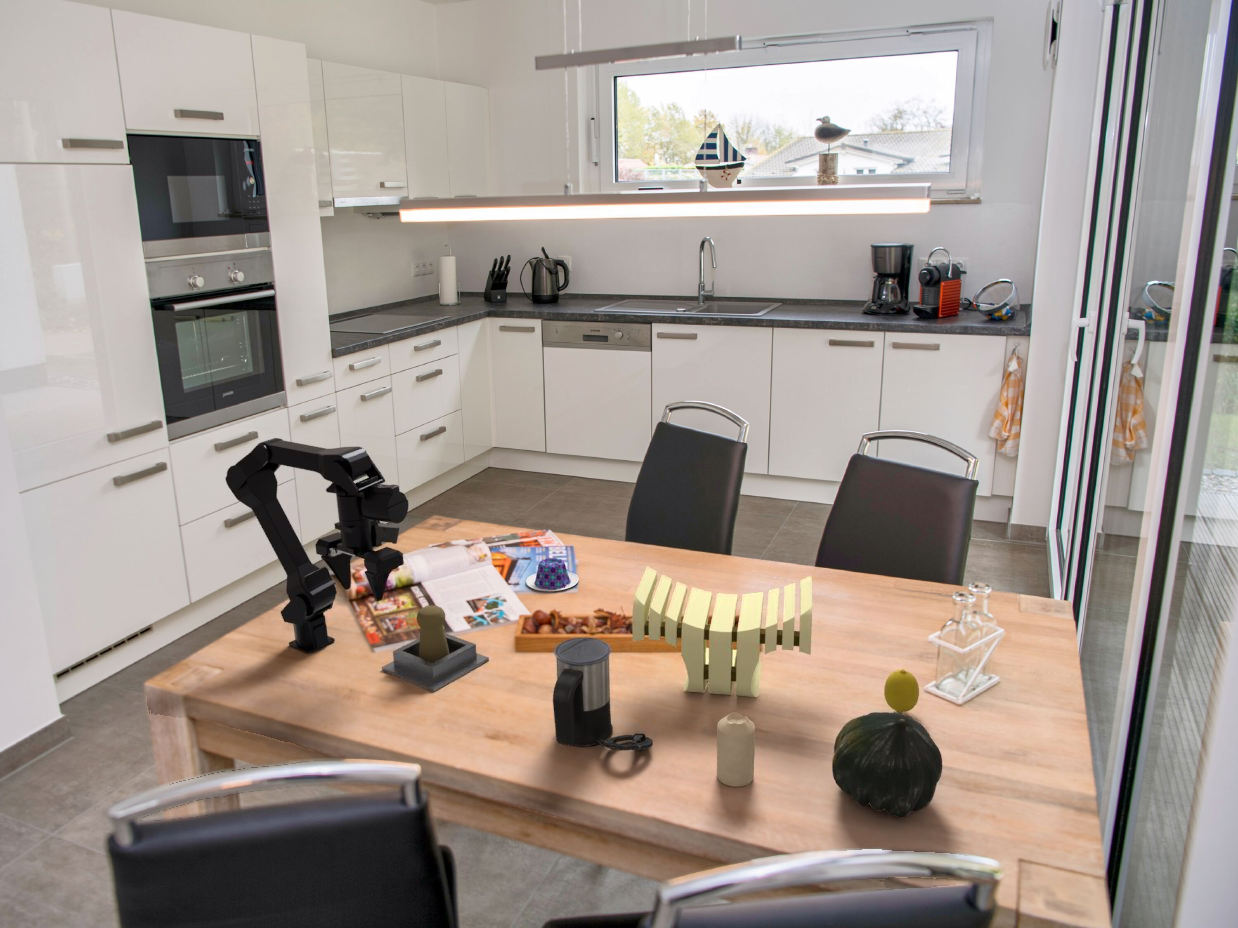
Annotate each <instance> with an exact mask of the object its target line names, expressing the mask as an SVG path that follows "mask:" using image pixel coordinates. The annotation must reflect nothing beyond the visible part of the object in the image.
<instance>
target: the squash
mask: <svg viewBox="0 0 1238 928" xmlns="http://www.w3.org/2000/svg"><path fill="white" fill-rule="evenodd" d="M833 745H834V747H833V757H832V762H831V764H832V765H831V772H832V777H833V780H834V781H835V784H836V785H837V787H838V788H839V789H840V790H841V791H842V793H844V794H845V795H847V796H850V797H852V800H853V801H854V802H855V803H856V804H858V805H859V806H863V807H864V806H868V805H870V806H871V809H873V810H874V811H877V812H879V811H884V810H885V811H886V813H888V814H890V815H891V816H894V817H896V818H900V819H901V818H904V817H906V816H909V814H910V813H911V812H918V811H921V810H922V809H924V808H925V807H927V806H928V805H929V804H930V803H931V802H932V801H933V798H934V795H935V793H936V790H937V789H936V788H937V786H938V785H937V784H938V783H939V781H940V779H941V777H942V773H943V758H942V753H941V750H940V749H939V748H940V747H938V745H937V744H936V743H935V741H934V740H933V738H932V737H931V734H930V733H929V731H928V730H927V729H926V728H925V726H924V725H923V724H922V723H921V722H920V721H918V720H916V719H915V718H912V717H911V716H908V715H906V714H903V713H898V712H887V711H885V712H884V711H881V712H876V711H874V712H869V713H868V714H864V715H862V716H858V717H855V718H852V719H851V720H848V722H847V723H845V724H844V725H843V726H842V728H841V730H840V731H839V732H838V734H837V736H836V738H835V741H834V744H833Z"/></svg>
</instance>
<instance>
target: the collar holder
mask: <svg viewBox="0 0 1238 928" xmlns="http://www.w3.org/2000/svg"><path fill="white" fill-rule="evenodd" d="M445 636H446V640H447V644H448V649H449V653H450V654H449V655H447V656H445V657H444V658H442V659H440V660H438V661H436V662H434V663H432V662H429V661H427V660H424V659H422V658H419V645H420V637H419V638H417V639H415V640H413V641H411V642H408V643H407V644H404V645H403V646H400V647H399V648H397V649H394V650H392V657H393V658H392V659H393V661H390V662H389V663H386V664H385V665H383V666H381V670H382V671H384V672H386V673H389V674H391V675H393V676H396V677H398V678H400V679H402V680H405V681H407V682H409V683H412V684H414V685H416V686H419V687H421V688H423V689H425V690H428V691H430V692H433V693H435V692H436V691H438V690H440V689H441V688H443V687H445V686H447V685H449V684H450V683H451V682H454V681H456V680H458V679H459V678H461V677H462V676H464V675H466V674H467V673H469V672H471V671H473V670H474V669H476V668H478V667H480V666H482V665H484V664H485V663H488V662H489V661H490V658H489V656H486V655H483V654H481V653H478V652H477V646H476V645H477V644H476V643H473V642H471V641H468V640H464V639H462V638H460V637H457V636H454V635H452V634H450V633H446V632H445Z"/></svg>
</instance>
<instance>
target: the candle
mask: <svg viewBox="0 0 1238 928" xmlns="http://www.w3.org/2000/svg"><path fill="white" fill-rule="evenodd" d="M716 725H717V726H716V729H717V730H716V735H717V736H716V739H717V740H716V777H717V779H718V781H720V782H721V783H722V784H723V785H726V786H729V787H733V788H740V787H745V786H748V785H750V784H751V783H752V781H753V780H754V773H755V739H756V736H755V735H756V734H755V732H756V726H755V724H754V722H753V721H751V719H750V718H748V716H746V715H741V714H740V713H738V712H737V711H732V712H730V713H729V714H728V715H726V716H724V717H722V718H721V719H720V720H719V721H718V723H717V724H716Z"/></svg>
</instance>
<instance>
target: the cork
mask: <svg viewBox="0 0 1238 928" xmlns="http://www.w3.org/2000/svg"><path fill="white" fill-rule="evenodd" d="M445 621H446V613H445V610H444V609H443V608H442V607H441V606H438V605H426V606H424V607H421V608H420V609H419V610H418V611H417V614H416V622H417V624H418V626H419V627H420V628H419V629H420V631H419V638H420V645H419V658H422V659H424V660H427V661H429V662H432V663H434V662H436V661H438V660H440V659H442V658H444V657H445V656H447V655H449V654H450V653H449V649H448V644H447V640H446V636H445V633H446V631H445V627H444V623H445Z"/></svg>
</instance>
